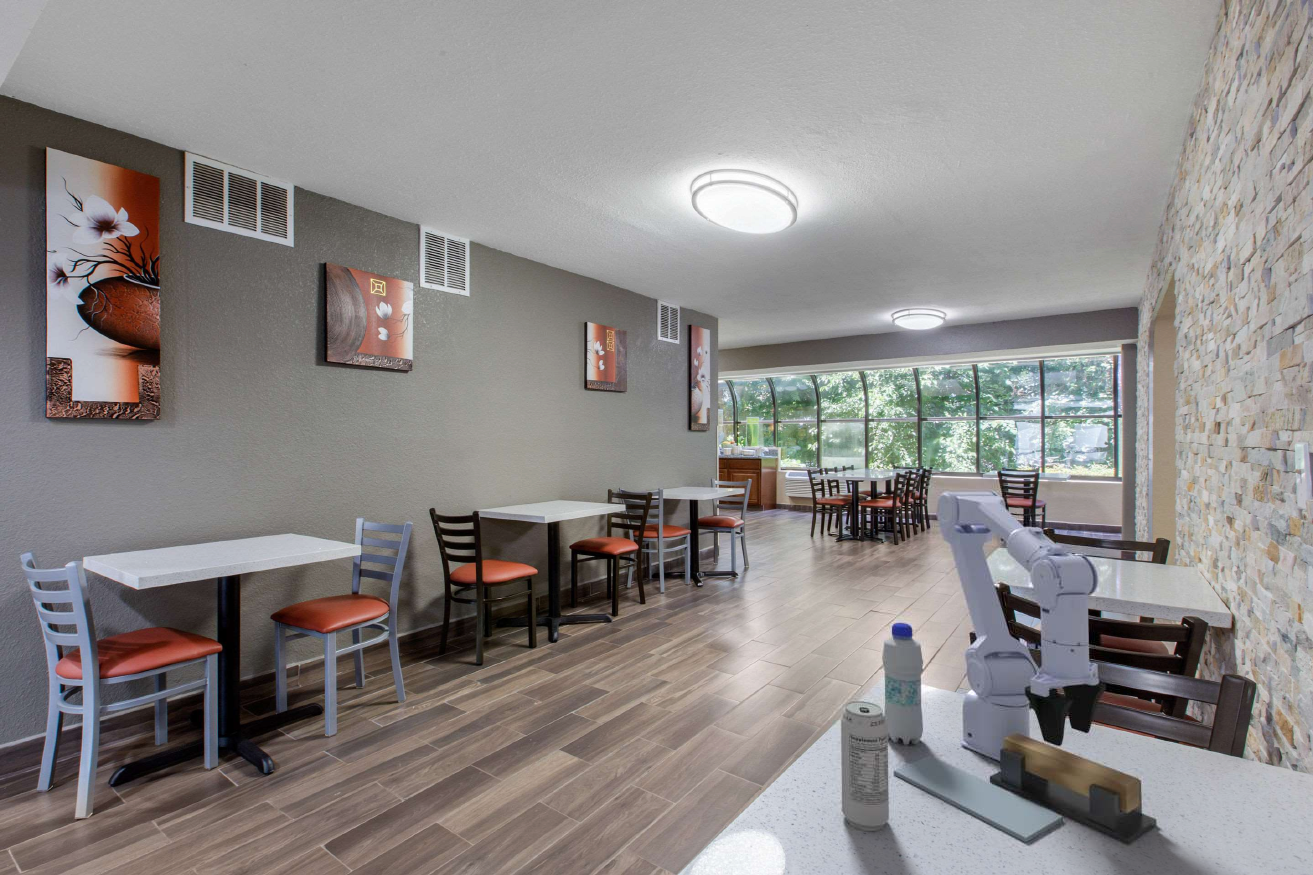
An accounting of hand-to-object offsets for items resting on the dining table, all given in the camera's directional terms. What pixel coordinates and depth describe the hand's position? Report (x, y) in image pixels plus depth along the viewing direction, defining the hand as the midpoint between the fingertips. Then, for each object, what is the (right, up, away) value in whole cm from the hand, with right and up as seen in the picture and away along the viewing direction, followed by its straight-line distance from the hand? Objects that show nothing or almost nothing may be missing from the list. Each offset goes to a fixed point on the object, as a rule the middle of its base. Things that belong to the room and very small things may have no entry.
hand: (1066, 736), depth 89 cm
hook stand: (0, -9, 0) cm, 9 cm away
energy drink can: (-30, -9, -4) cm, 32 cm away
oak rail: (0, -6, 0) cm, 6 cm away
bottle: (-16, -10, +20) cm, 27 cm away
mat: (-13, -9, +1) cm, 16 cm away
